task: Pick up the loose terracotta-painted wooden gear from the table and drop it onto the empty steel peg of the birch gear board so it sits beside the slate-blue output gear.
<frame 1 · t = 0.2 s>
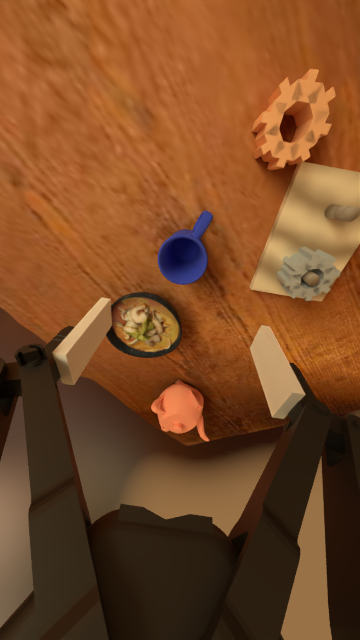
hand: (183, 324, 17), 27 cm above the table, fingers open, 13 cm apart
bowl: (150, 310, 49), on the table
mug: (190, 237, 39), on the table
output gear: (300, 269, 39), resting on board
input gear: (282, 132, 29), on the table
board: (309, 242, 37), on the table
teapot: (184, 390, 67), on the table
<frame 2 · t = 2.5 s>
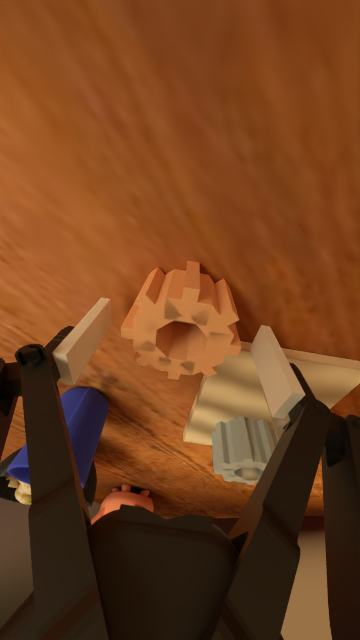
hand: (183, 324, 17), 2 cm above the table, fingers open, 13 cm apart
bowl: (69, 438, 39), on the table
mug: (92, 390, 28), on the table
output gear: (242, 431, 29), resting on board
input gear: (184, 307, 18), on the table
board: (252, 404, 27), on the table
teapot: (135, 490, 58), on the table
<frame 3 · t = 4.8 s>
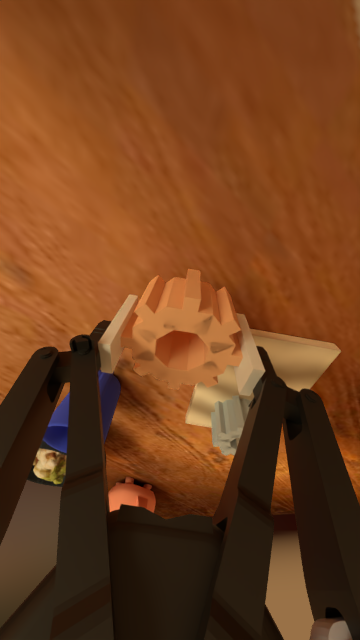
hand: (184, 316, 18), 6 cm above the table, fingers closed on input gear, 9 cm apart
bowl: (81, 425, 43), on the table
mug: (107, 373, 32), on the table
output gear: (237, 412, 32), resting on board
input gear: (184, 315, 18), point 6 cm above the table, touching gripper
board: (245, 386, 31), on the table
teapot: (138, 484, 60), on the table
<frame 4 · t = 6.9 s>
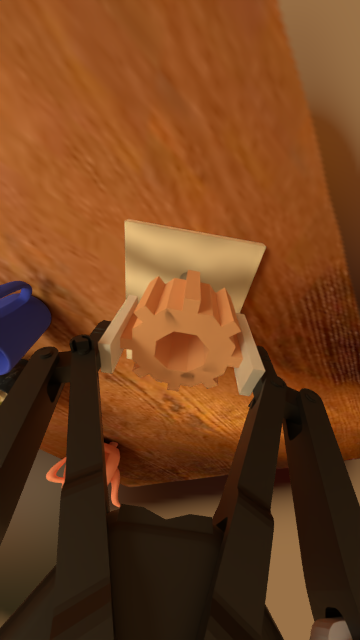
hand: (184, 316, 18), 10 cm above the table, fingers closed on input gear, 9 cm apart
bowl: (27, 371, 41), on the table
mug: (35, 300, 30), on the table
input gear: (184, 316, 18), point 9 cm above the table, touching gripper
board: (181, 309, 29), on the table
teapot: (104, 443, 59), on the table
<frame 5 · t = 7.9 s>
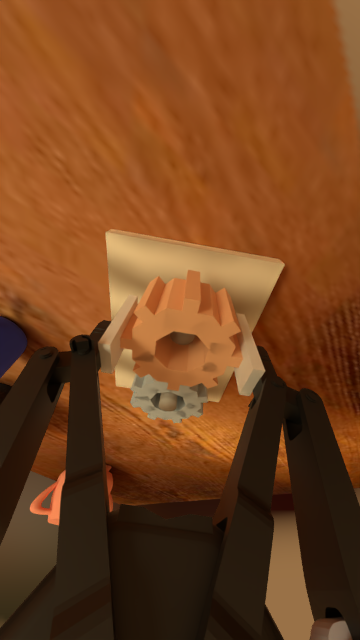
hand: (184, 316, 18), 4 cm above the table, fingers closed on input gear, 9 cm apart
bowl: (7, 394, 36), on the table
mug: (7, 321, 26), on the table
output gear: (172, 368, 26), resting on board
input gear: (184, 316, 18), point 4 cm above the table, touching gripper
board: (179, 333, 24), on the table
teapot: (96, 465, 54), on the table
when the fingers open (3 cm above the table, at t = 9.0 s): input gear drops 1 cm, resting on board.
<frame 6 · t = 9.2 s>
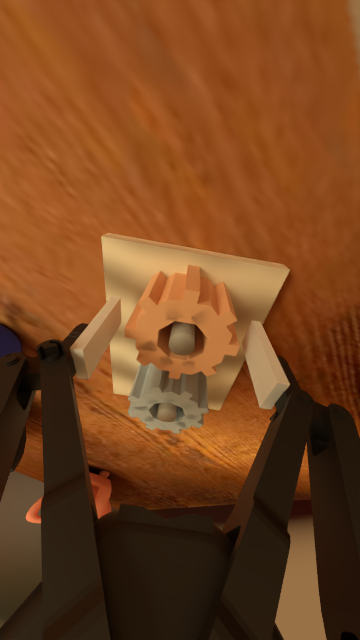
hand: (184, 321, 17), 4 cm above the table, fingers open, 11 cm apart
bowl: (2, 400, 35), on the table
mug: (1, 326, 25), on the table
output gear: (172, 376, 25), resting on board
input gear: (185, 309, 19), point 1 cm above the table, touching board
board: (178, 340, 23), on the table
teapot: (94, 471, 53), on the table
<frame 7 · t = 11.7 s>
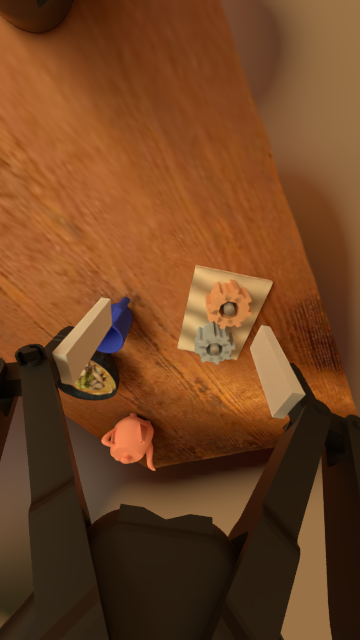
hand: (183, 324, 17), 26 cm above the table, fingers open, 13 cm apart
bowl: (99, 357, 57), on the table
mug: (123, 308, 47), on the table
output gear: (213, 336, 47), resting on board
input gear: (226, 299, 41), point 1 cm above the table, touching board
board: (218, 316, 46), on the table
teapot: (139, 421, 74), on the table
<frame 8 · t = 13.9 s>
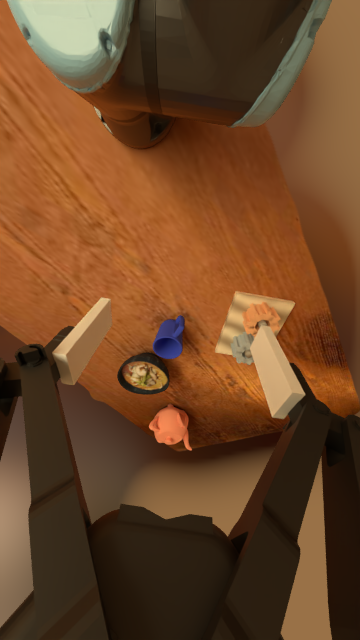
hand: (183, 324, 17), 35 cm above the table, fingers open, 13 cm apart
bowl: (149, 360, 70), on the table
mug: (174, 322, 60), on the table
output gear: (245, 342, 60), resting on board
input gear: (257, 315, 54), point 1 cm above the table, touching board
board: (249, 327, 58), on the table
teapot: (174, 411, 88), on the table
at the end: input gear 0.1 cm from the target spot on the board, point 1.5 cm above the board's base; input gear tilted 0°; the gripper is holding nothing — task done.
